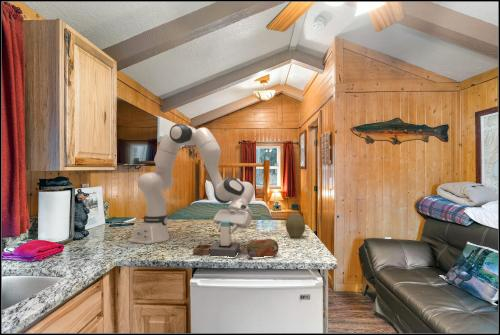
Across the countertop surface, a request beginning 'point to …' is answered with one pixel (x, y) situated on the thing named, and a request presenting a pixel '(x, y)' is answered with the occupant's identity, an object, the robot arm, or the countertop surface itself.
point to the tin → (262, 248)
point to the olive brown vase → (295, 225)
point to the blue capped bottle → (225, 233)
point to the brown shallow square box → (202, 249)
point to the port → (225, 249)
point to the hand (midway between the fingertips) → (224, 232)
